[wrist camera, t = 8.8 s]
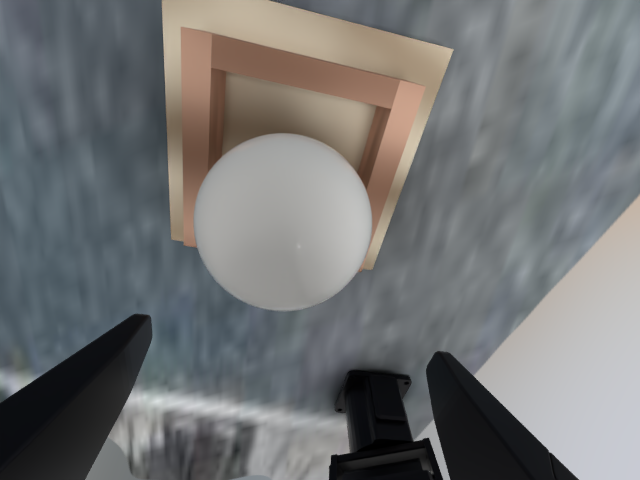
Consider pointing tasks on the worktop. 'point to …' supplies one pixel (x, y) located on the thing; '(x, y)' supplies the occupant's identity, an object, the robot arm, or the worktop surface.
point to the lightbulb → (282, 222)
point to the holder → (292, 95)
